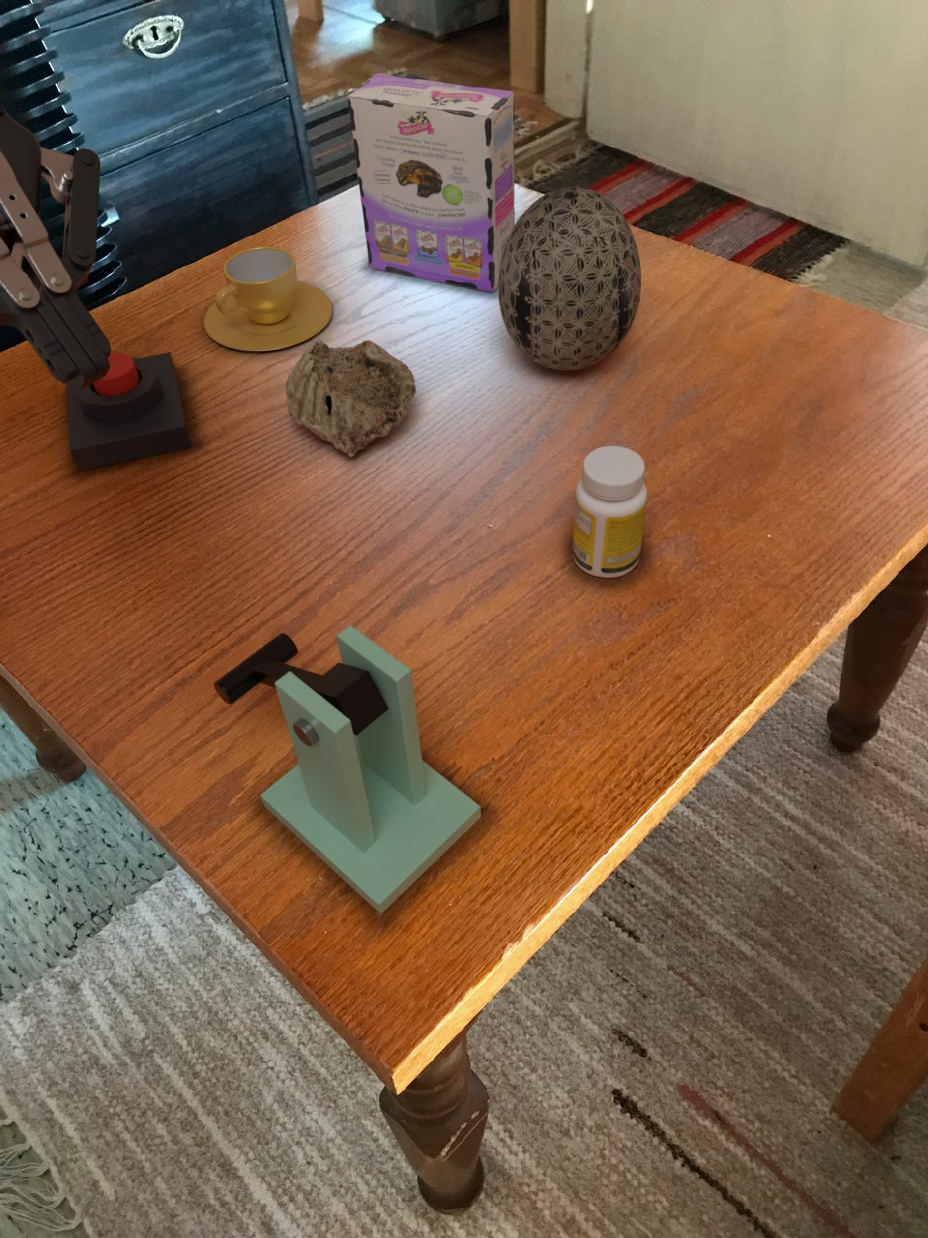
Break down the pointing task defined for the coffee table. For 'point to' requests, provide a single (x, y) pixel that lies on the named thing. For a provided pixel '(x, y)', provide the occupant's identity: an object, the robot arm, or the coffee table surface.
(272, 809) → the bracket
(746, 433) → the coffee table surface
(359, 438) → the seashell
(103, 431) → the button housing
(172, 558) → the coffee table surface
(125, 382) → the button
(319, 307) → the cup
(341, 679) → the lever
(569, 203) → the decorative egg
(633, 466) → the supplement bottle
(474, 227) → the candy box
